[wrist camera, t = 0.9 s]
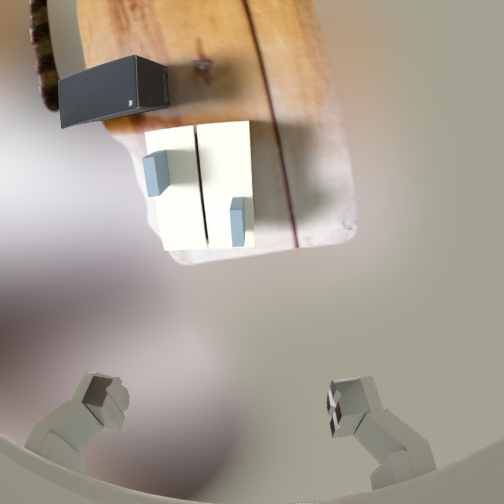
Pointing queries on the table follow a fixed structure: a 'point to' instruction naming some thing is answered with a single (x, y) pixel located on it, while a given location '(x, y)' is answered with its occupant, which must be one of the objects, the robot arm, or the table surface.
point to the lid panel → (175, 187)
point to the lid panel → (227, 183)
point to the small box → (113, 91)
